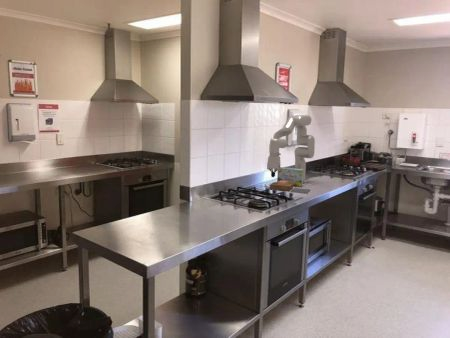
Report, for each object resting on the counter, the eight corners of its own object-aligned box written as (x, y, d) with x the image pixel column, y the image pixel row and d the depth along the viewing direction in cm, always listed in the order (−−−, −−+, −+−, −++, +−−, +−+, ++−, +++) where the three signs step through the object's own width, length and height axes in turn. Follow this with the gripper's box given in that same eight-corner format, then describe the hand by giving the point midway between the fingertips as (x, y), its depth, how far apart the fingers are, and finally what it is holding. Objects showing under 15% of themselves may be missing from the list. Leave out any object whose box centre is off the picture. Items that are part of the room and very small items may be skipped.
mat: (294, 188, 301) (294, 187, 301) (310, 189, 296) (310, 189, 296) (290, 191, 286) (290, 191, 286) (307, 193, 281) (307, 193, 281)
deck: (273, 186, 306) (274, 181, 306) (293, 188, 300) (293, 183, 300) (269, 189, 293) (269, 184, 293) (289, 191, 287) (289, 186, 287)
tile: (280, 183, 301) (280, 180, 301) (287, 183, 299) (287, 180, 299) (277, 184, 293) (277, 181, 292) (285, 185, 291) (285, 182, 290)
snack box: (276, 185, 315) (277, 167, 313) (278, 184, 320) (279, 166, 317) (301, 187, 305) (302, 169, 303) (302, 186, 310) (303, 168, 308)
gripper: (284, 154, 296) (283, 177, 298) (266, 153, 301) (265, 175, 304) (282, 155, 289) (281, 178, 291) (263, 154, 295) (262, 176, 297)
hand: (273, 177), depth 298 cm, fingers closed
